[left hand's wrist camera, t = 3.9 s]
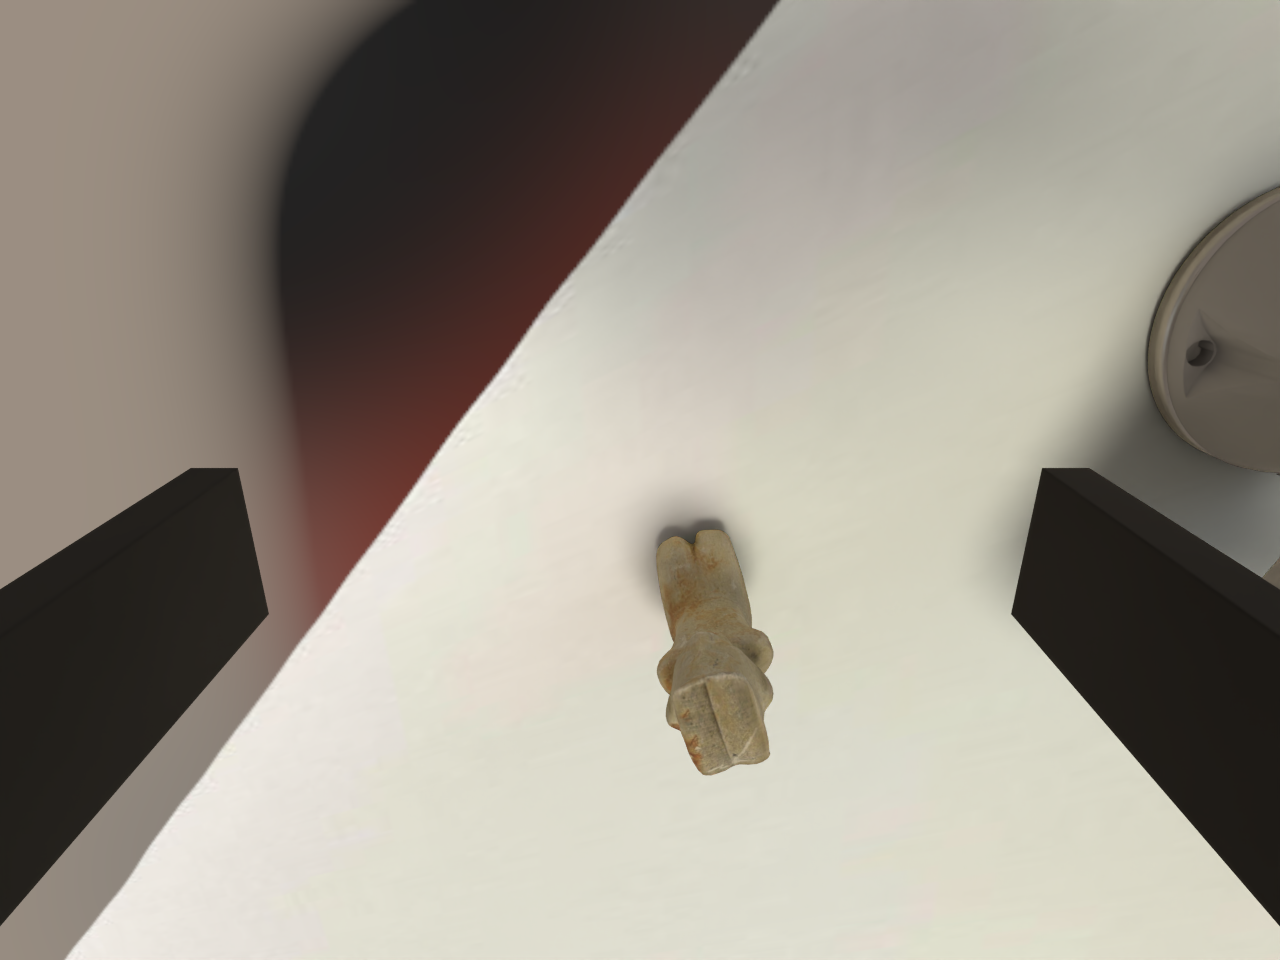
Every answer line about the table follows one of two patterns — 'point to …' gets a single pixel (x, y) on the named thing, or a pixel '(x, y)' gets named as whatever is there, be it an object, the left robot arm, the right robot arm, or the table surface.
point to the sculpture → (713, 654)
